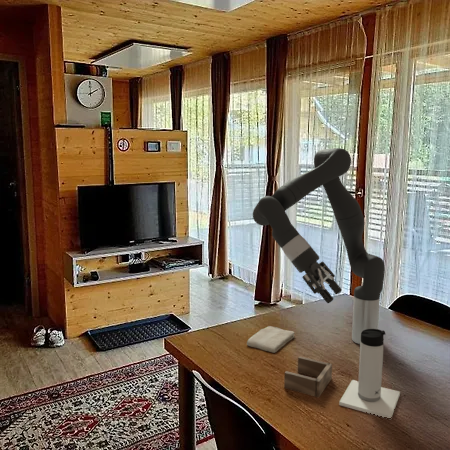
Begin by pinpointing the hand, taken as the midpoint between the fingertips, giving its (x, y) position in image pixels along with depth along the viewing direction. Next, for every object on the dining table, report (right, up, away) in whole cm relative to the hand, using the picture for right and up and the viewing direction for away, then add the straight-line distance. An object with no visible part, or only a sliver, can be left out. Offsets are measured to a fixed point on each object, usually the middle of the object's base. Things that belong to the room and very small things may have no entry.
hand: (335, 296), depth 133 cm
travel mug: (+10, -29, -2) cm, 30 cm away
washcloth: (-15, -23, +38) cm, 47 cm away
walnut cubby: (-7, -28, +8) cm, 30 cm away
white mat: (+10, -29, -2) cm, 31 cm away
